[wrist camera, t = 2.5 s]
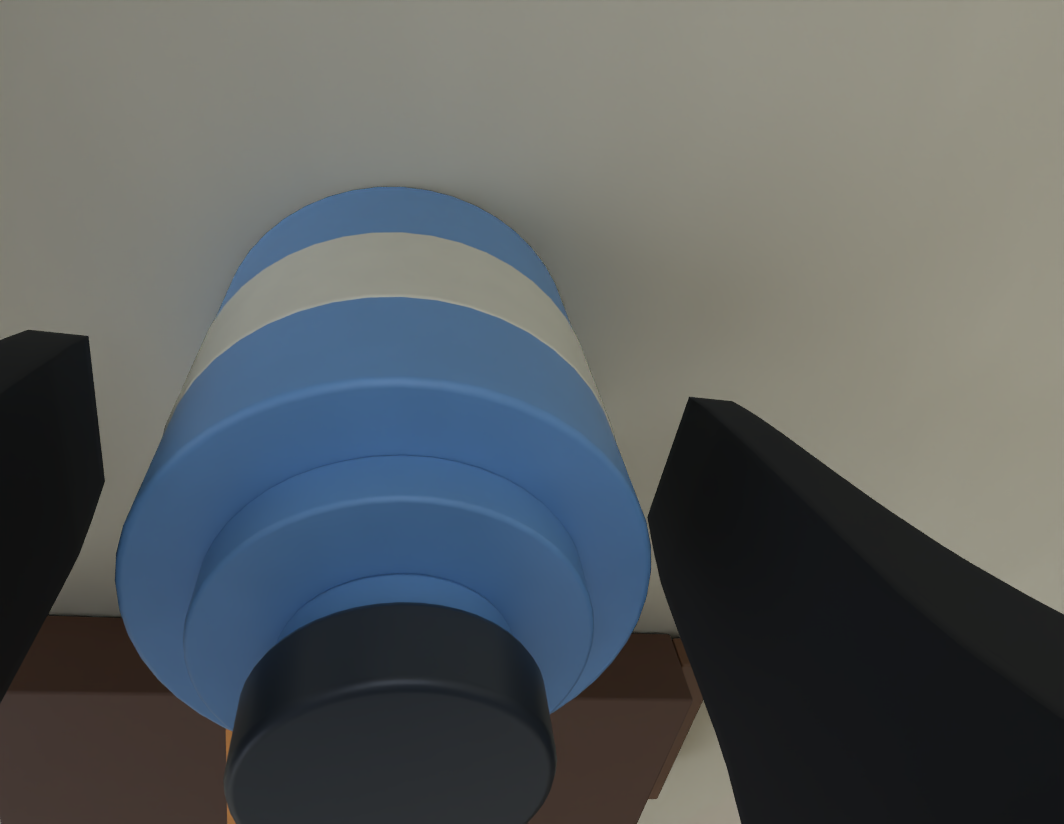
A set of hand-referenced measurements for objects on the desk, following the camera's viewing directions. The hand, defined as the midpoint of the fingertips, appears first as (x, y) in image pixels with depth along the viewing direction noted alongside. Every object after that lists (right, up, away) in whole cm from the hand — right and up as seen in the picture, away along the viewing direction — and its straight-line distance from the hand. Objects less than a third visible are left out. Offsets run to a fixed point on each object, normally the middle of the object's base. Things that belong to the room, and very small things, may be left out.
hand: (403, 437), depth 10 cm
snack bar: (-2, -5, +6) cm, 8 cm away
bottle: (0, +1, +2) cm, 2 cm away
